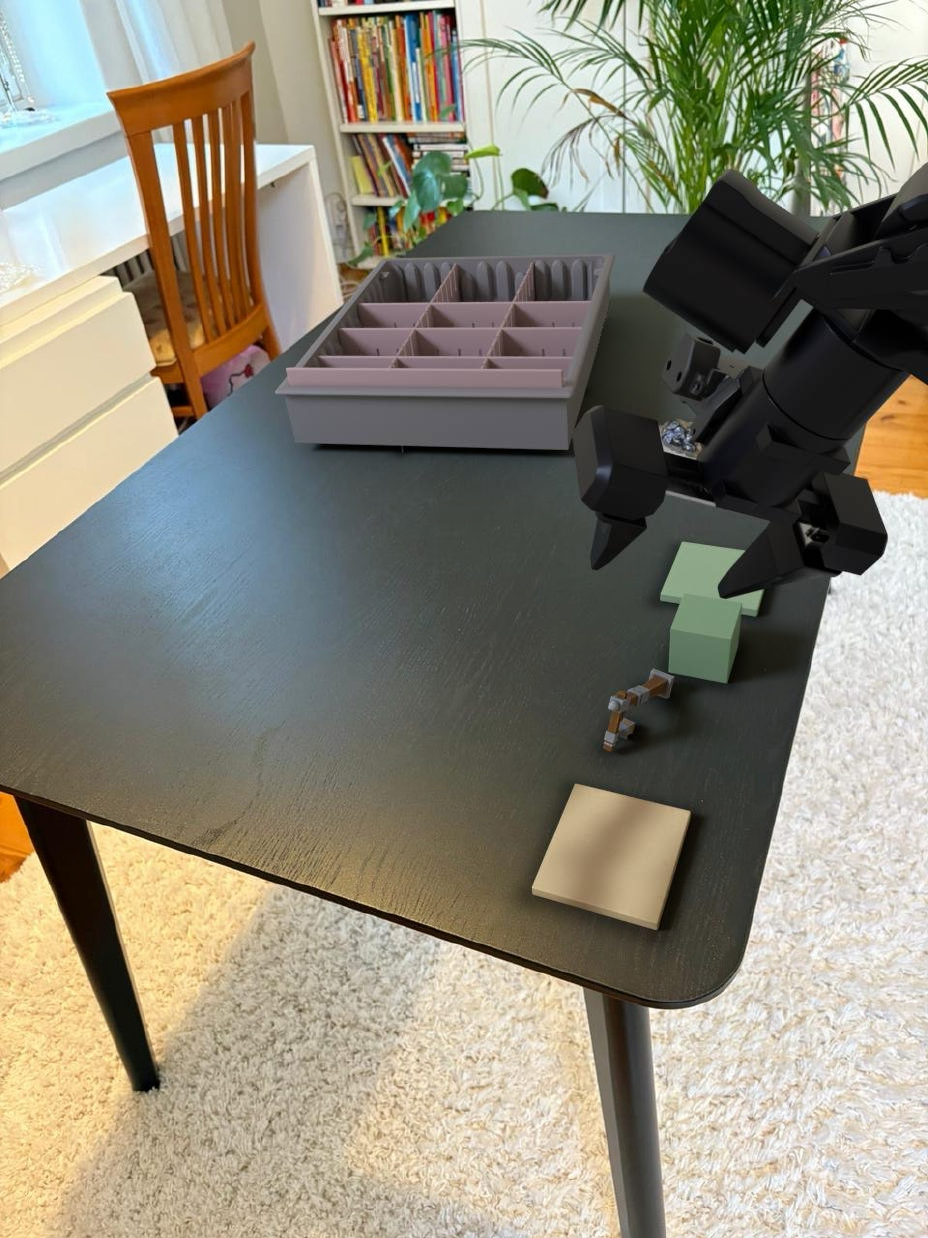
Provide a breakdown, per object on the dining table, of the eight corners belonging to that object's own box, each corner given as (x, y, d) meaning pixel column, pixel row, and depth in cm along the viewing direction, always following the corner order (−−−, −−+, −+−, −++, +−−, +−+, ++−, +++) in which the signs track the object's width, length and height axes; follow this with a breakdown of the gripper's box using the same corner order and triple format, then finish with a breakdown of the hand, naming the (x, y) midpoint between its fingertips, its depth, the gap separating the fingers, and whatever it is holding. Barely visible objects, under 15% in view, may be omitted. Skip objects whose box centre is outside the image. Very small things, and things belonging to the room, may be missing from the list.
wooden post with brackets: (589, 748, 69) (602, 691, 68) (640, 718, 75) (653, 665, 74) (611, 759, 68) (625, 701, 67) (661, 727, 75) (675, 674, 73)
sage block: (738, 646, 77) (742, 602, 75) (726, 684, 74) (731, 639, 71) (681, 636, 79) (683, 592, 76) (668, 672, 76) (670, 628, 73)
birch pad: (690, 818, 65) (691, 810, 64) (657, 931, 59) (657, 923, 58) (575, 790, 68) (575, 782, 67) (532, 895, 61) (531, 887, 61)
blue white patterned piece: (693, 419, 106) (694, 403, 105) (733, 451, 100) (734, 435, 99) (637, 435, 105) (637, 419, 104) (675, 468, 99) (675, 452, 98)
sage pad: (772, 561, 85) (773, 554, 85) (756, 617, 80) (757, 609, 79) (681, 548, 88) (682, 541, 88) (660, 601, 83) (660, 593, 82)
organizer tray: (616, 312, 131) (616, 237, 125) (574, 465, 101) (571, 377, 95) (389, 314, 139) (378, 243, 132) (289, 457, 109) (269, 374, 103)
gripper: (909, 346, 57) (756, 515, 69) (629, 252, 52) (514, 453, 63) (973, 484, 51) (792, 645, 63) (660, 393, 45) (526, 588, 57)
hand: (658, 578), depth 62 cm, fingers open, 9 cm apart
